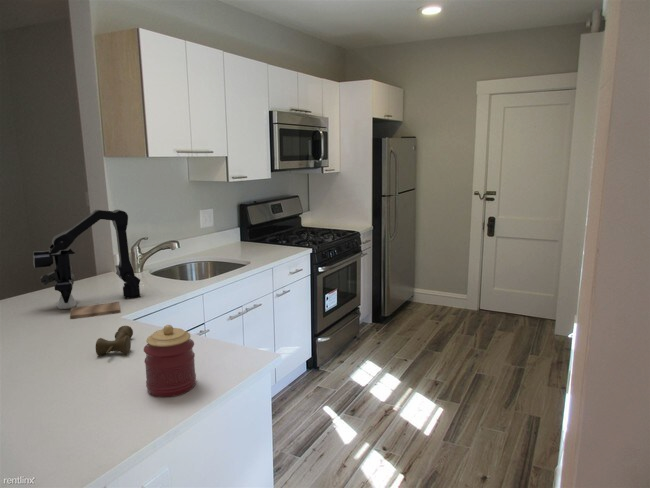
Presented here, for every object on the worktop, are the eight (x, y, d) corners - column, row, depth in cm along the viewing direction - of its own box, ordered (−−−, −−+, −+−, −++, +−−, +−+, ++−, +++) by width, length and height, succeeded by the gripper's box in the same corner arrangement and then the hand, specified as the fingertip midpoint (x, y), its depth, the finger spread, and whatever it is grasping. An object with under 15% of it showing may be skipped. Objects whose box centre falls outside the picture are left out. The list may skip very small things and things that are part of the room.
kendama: (141, 339, 163) (124, 361, 144) (112, 341, 162) (91, 363, 142) (139, 322, 162) (122, 342, 143) (110, 324, 161) (89, 345, 142)
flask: (68, 310, 193) (66, 286, 191) (53, 309, 194) (50, 285, 193) (80, 305, 200) (78, 282, 198) (66, 303, 201) (63, 281, 200)
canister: (159, 374, 134) (155, 316, 131) (203, 376, 133) (200, 317, 130) (137, 397, 122) (132, 333, 119) (185, 399, 120) (181, 334, 117)
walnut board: (119, 304, 200) (118, 301, 200) (120, 312, 190) (120, 309, 190) (71, 310, 193) (71, 307, 192) (70, 319, 182) (70, 316, 182)
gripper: (42, 262, 199) (46, 297, 202) (38, 271, 182) (42, 310, 185) (72, 260, 204) (75, 294, 206) (70, 269, 187) (73, 306, 190)
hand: (66, 301), depth 197 cm, fingers closed on flask, 5 cm apart
